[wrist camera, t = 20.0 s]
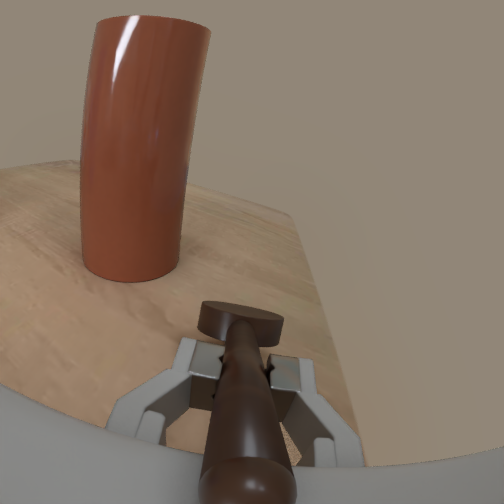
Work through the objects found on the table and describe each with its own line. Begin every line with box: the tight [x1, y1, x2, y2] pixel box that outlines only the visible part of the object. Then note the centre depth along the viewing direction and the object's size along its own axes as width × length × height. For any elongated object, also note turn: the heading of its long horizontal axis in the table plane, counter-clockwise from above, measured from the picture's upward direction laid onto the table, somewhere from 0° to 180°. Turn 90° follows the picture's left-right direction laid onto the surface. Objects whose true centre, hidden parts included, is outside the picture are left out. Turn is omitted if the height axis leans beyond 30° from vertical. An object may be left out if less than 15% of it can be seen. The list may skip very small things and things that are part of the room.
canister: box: [80, 15, 211, 282], centre depth 29 cm, size 11×11×24 cm
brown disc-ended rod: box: [197, 301, 297, 504], centre depth 14 cm, size 21×6×2 cm, turn 177°
